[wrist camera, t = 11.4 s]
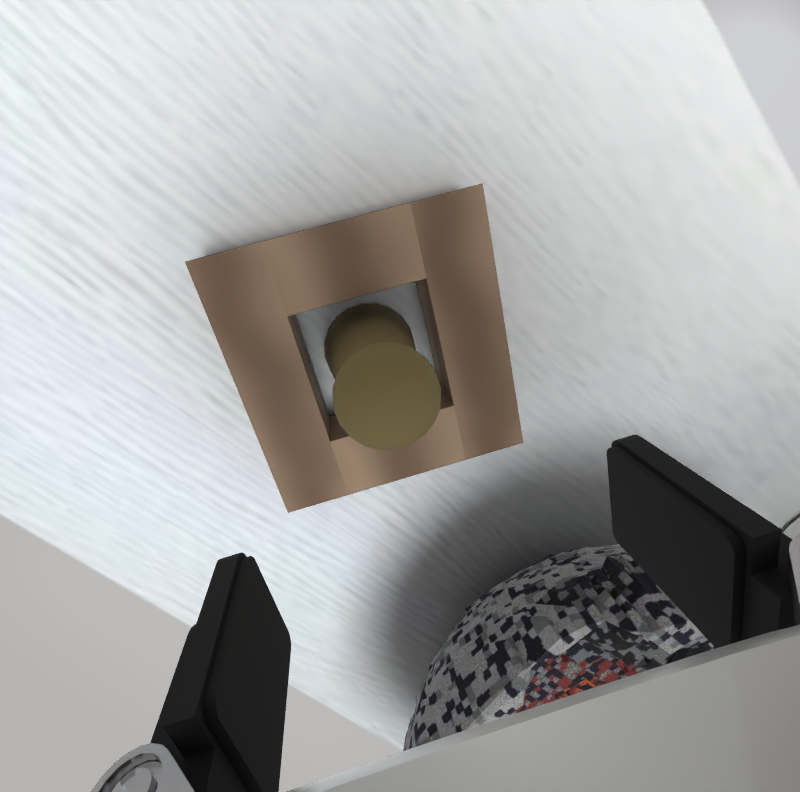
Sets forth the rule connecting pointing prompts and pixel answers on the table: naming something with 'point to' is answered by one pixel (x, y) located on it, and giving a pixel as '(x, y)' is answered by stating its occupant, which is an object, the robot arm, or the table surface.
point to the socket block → (349, 278)
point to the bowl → (550, 641)
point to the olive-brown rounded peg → (380, 378)
